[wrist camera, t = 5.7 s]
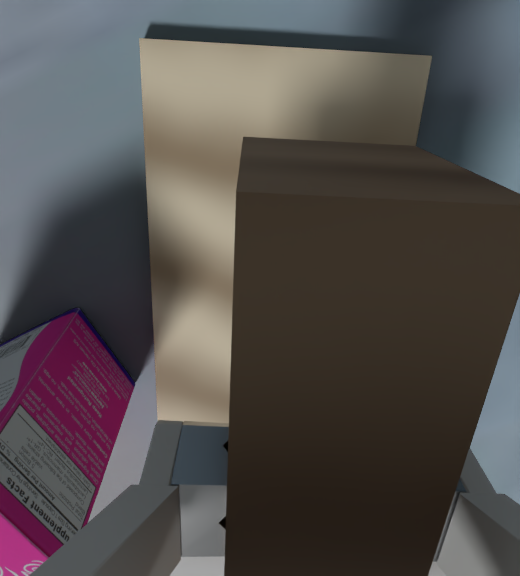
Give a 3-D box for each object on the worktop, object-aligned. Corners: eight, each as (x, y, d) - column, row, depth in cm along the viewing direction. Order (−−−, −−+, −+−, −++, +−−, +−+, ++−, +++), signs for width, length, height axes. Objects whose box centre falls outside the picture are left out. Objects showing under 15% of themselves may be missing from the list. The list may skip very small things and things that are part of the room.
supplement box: (58, 422, 28) (-60, 630, 17) (-7, 345, 25) (-189, 532, 15) (141, 385, 27) (69, 583, 16) (80, 303, 24) (-48, 470, 14)
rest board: (143, 39, 19) (139, 38, 19) (425, 56, 20) (432, 55, 19) (161, 444, 28) (159, 454, 28) (355, 450, 29) (358, 459, 28)
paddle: (96, 128, 8) (-37, 178, 4) (554, 153, 8) (794, 218, 5) (146, 675, 15) (114, 866, 11) (389, 677, 15) (431, 864, 12)
